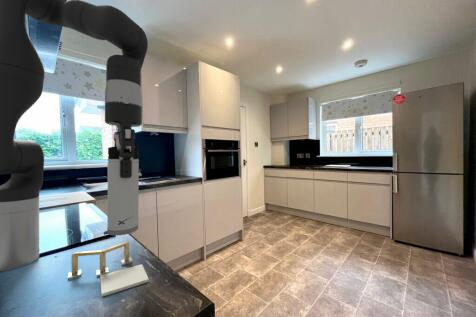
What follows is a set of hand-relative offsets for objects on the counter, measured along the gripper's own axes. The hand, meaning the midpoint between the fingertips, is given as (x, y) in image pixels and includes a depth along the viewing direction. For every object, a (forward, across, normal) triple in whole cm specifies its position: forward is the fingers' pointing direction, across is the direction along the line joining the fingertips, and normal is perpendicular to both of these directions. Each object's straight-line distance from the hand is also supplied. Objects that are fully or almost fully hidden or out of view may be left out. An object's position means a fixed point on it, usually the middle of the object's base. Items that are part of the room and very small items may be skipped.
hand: (123, 176), depth 48 cm
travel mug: (+13, 0, 0) cm, 13 cm away
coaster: (+24, 0, 0) cm, 24 cm away
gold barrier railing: (+24, -7, -4) cm, 25 cm away
